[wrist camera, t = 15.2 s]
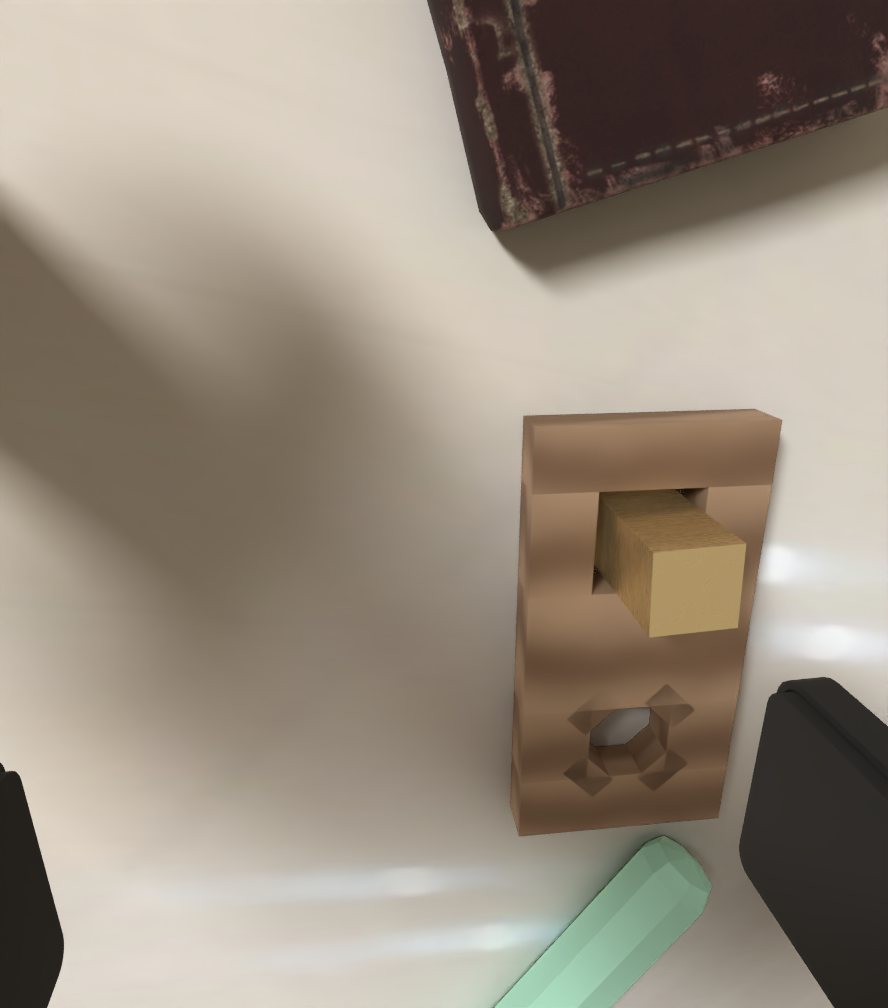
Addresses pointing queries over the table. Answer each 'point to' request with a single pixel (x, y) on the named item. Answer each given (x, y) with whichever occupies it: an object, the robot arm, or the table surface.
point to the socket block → (626, 620)
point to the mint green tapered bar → (618, 932)
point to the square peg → (669, 562)
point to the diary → (644, 88)
